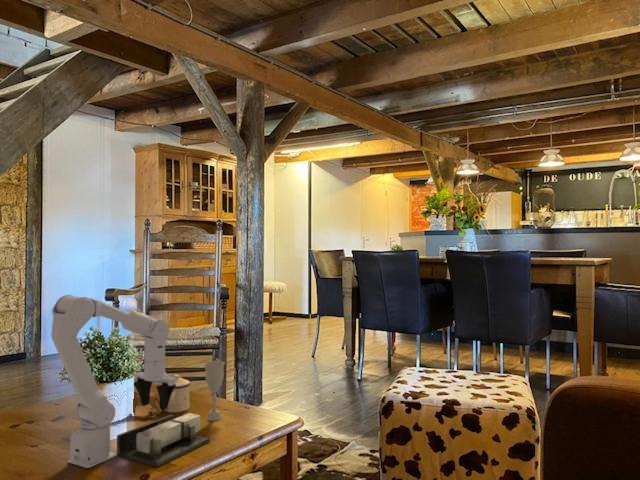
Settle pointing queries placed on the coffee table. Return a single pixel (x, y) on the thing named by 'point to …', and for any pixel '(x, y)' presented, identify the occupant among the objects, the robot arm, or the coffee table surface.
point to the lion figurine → (152, 402)
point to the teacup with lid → (179, 396)
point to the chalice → (214, 384)
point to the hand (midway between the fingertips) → (154, 406)
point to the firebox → (157, 445)
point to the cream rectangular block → (167, 432)
